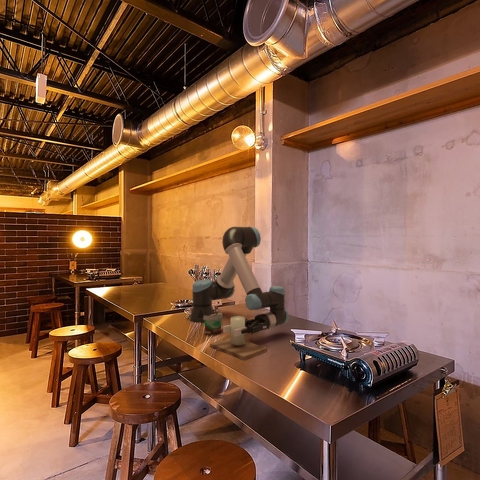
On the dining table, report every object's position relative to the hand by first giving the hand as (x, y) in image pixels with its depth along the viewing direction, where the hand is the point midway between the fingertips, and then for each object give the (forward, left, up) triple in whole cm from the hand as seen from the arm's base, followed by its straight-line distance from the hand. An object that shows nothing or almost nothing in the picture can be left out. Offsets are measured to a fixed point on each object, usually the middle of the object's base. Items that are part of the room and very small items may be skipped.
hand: (229, 331), depth 137 cm
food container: (-25, +13, -9) cm, 30 cm away
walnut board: (0, +5, -9) cm, 10 cm away
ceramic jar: (0, +5, -6) cm, 8 cm away
